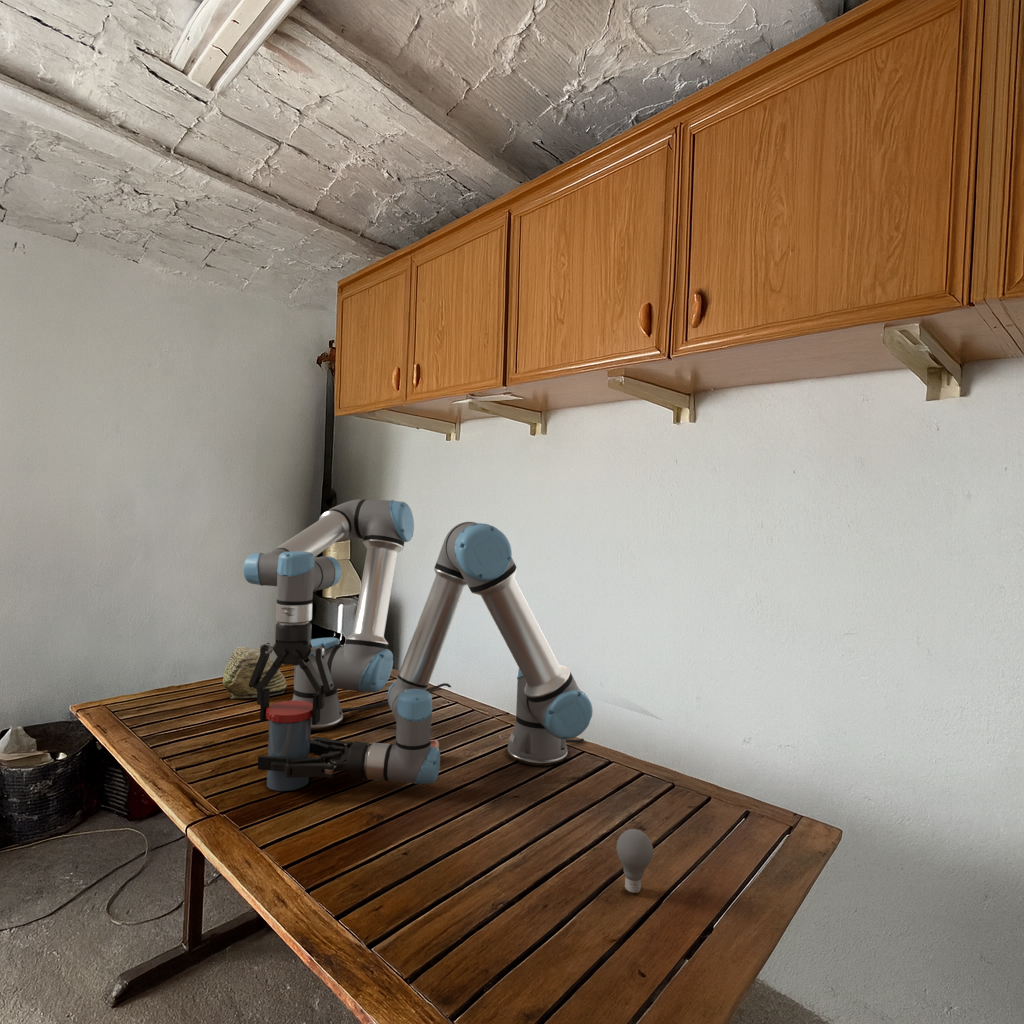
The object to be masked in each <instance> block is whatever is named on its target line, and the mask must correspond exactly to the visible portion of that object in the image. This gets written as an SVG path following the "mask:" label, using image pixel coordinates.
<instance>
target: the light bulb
mask: <svg viewBox="0 0 1024 1024" xmlns="http://www.w3.org/2000/svg"><path fill="white" fill-rule="evenodd" d="M615 849H616V854H617V857H618V859H619V861H620V863H621V865H622V867H623V873H624V874H623V875H624V876H625V878H624V888H625V890H627V891H628V892H630V893H634V894H635V893H639V892H640V891H641V889H642V887H641V886H642V879H643V877H644V875H645V871H646V868H647V867H648V866H649V864H650V863H651V861H652V859H653V855H654V847H653V843H652V841H651V838H649V836H648V835H647V834H646V833H645V832H643V831H642V830H641V829H636V828H629V829H627V830H625V831H623V832H622V833H621V834H620V835H619V837H618V839H617V841H616V847H615Z"/></svg>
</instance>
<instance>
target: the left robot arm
mask: <svg viewBox="0 0 1024 1024" xmlns="http://www.w3.org/2000/svg"><path fill="white" fill-rule="evenodd" d="M414 521H415V520H414V515H413V511H412V509H411V507H410V506H409V504H408V503H407V502H405V501H401V500H400V501H399V500H393V499H391V500H385V499H384V500H383V499H365V498H363V499H362V498H357V499H352V500H348V501H344V502H342V503H340V504H338V505H336V506H333V507H331V508H329V509H328V510H326V511H324V512H323V513H322V514H320V516H319V518H318V520H316V522H313V523H312V524H311V525H309V526H308V527H306V528H305V529H303V530H302V531H300V532H299V533H297V534H295V535H293V536H292V537H290V538H289V539H288V540H285V542H283V543H281V544H280V545H278V546H277V547H275V548H274V549H272V550H270V551H268V552H267V553H263V552H259V553H258V552H257V553H256V552H255V553H251V554H249V555H248V556H247V557H246V558H245V560H244V562H243V566H242V567H243V568H242V571H243V577H244V580H245V581H246V582H247V583H249V584H251V585H258V586H261V587H263V586H267V587H276V607H275V608H276V609H275V610H276V611H275V613H276V614H275V621H276V622H277V623H276V624H275V629H274V630H275V631H274V640H275V642H274V644H272V643H270V642H266V643H264V644H262V645H260V647H259V648H260V657H259V659H258V662H257V664H256V667H255V669H254V672H253V674H252V677H251V679H250V682H249V687H251V688H252V687H253V688H255V689H256V690H257V697H256V704H257V706H260V709H259V711H260V712H259V722H264V721H266V720H268V719H267V718H266V709H267V707H268V706H270V701H271V700H270V699H271V696H270V688H266V687H267V685H268V684H269V682H270V681H271V679H272V678H273V677H274V675H275V674H276V672H277V671H278V670H280V669H281V667H282V666H290V665H291V666H293V667H294V672H293V695H292V696H293V697H292V699H291V701H293V700H298V701H307V702H310V703H312V704H313V712H312V717H311V733H316V732H325V731H329V730H332V729H335V728H337V727H339V726H340V725H342V723H343V722H344V713H343V712H351V711H361V710H362V711H363V710H367V709H373V708H377V707H381V706H385V705H389V704H388V700H386V701H382V702H378V703H374V704H369V705H365V706H357V707H346V708H342V706H341V702H340V699H339V695H338V690H344V691H345V690H346V691H354V692H359V693H377V692H380V691H381V690H382V689H383V688H384V687H385V685H386V684H387V683H388V681H389V679H390V677H391V675H392V671H393V668H394V667H393V666H394V654H393V652H392V651H391V650H390V649H388V647H389V642H388V641H387V639H385V631H386V625H387V620H388V615H389V614H388V613H389V606H390V601H391V594H392V588H393V582H394V578H395V577H394V575H395V570H396V565H397V558H398V553H400V552H401V551H404V547H405V543H408V542H410V541H411V540H412V539H413V537H414V532H415V522H414ZM347 539H361V540H363V541H362V544H363V545H364V546H365V548H366V554H365V561H364V567H363V571H362V572H363V573H362V578H361V583H360V589H359V595H358V600H357V606H356V612H355V617H354V624H353V628H352V632H351V634H350V635H348V636H347V637H346V638H345V642H344V644H343V645H342V644H340V643H341V641H340V639H339V638H338V637H334V636H333V637H318V638H313V639H312V628H313V627H312V626H313V625H312V622H311V621H312V620H313V598H314V597H313V595H314V592H316V591H320V590H327V589H330V588H331V587H333V586H336V585H337V584H338V583H339V582H340V580H341V579H342V575H343V569H342V565H341V563H340V562H339V561H338V559H336V558H335V557H334V556H333V557H332V556H325V555H321V556H318V555H320V554H321V553H323V552H324V551H325V550H327V549H328V548H329V547H331V546H332V545H334V543H337V544H338V543H341V542H344V541H345V540H347ZM317 556H318V557H317ZM273 652H274V654H275V655H276V658H275V659H274V660H273V661H274V662H273V665H272V666H271V668H270V669H269V670H268V672H267V673H266V675H265V676H264V677H263V679H262V680H261V682H260V679H261V676H262V674H263V671H264V668H265V666H266V663H267V661H268V658H270V655H271V654H272V653H273ZM441 687H447V688H452V685H451V684H450V683H447V682H445V683H444V682H443V683H440V684H438V685H434V686H432V687H431V686H430V687H429V688H428V687H427V689H426V691H428V692H430V691H433V690H436V689H439V688H441Z"/></svg>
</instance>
